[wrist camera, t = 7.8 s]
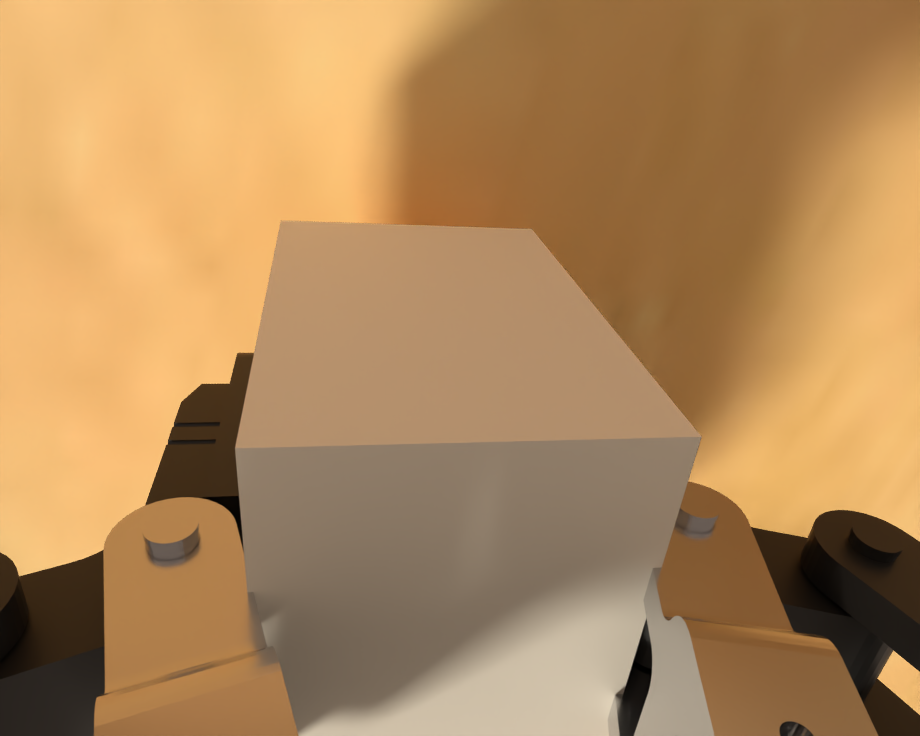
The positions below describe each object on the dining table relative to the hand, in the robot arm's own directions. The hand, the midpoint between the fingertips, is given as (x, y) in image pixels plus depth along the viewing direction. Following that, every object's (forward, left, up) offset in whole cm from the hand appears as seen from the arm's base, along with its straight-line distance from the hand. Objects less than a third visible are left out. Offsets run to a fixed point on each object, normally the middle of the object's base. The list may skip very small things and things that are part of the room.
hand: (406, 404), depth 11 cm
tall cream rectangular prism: (0, +3, -1) cm, 3 cm away
